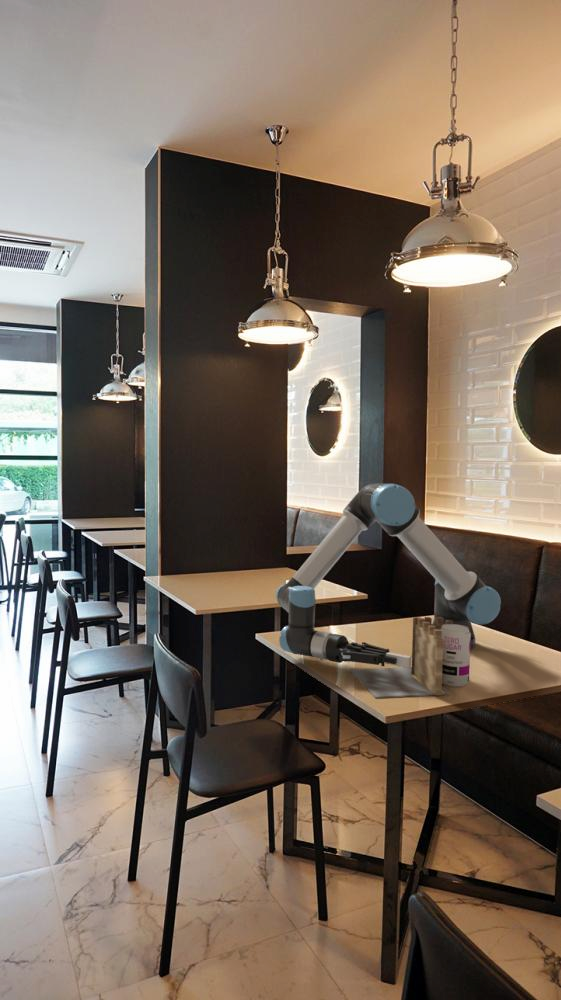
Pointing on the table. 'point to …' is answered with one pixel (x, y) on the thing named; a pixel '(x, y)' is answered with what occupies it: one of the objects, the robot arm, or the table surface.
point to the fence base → (398, 675)
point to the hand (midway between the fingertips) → (409, 662)
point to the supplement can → (455, 655)
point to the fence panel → (428, 656)
